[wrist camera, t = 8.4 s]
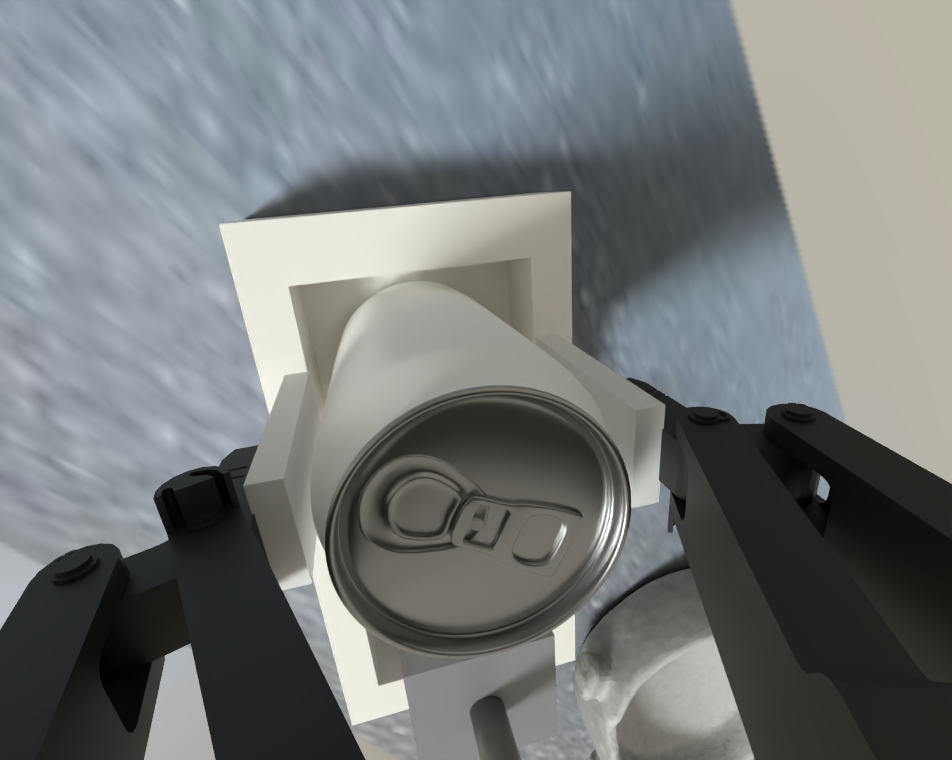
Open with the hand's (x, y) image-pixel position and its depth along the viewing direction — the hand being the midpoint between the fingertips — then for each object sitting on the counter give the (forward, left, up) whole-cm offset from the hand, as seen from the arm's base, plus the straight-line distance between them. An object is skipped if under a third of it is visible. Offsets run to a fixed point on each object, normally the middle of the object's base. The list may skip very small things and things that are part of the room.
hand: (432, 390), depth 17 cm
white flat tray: (+5, 0, -4) cm, 7 cm away
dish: (+22, +13, -5) cm, 26 cm away
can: (0, 0, -4) cm, 4 cm away
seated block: (+10, 0, -4) cm, 11 cm away
